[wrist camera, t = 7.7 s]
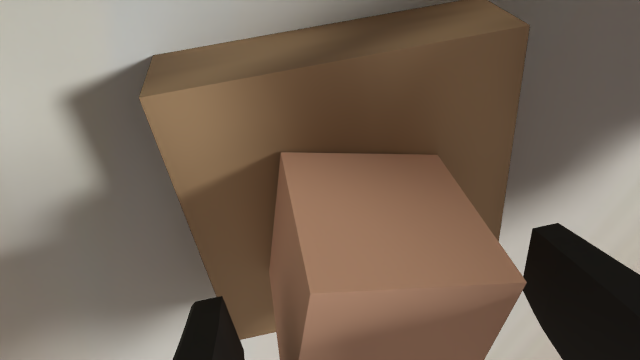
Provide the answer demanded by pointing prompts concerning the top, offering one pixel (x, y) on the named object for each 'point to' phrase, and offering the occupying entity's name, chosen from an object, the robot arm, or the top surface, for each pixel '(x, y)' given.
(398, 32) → the walnut slab
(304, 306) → the terracotta block
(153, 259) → the top surface
